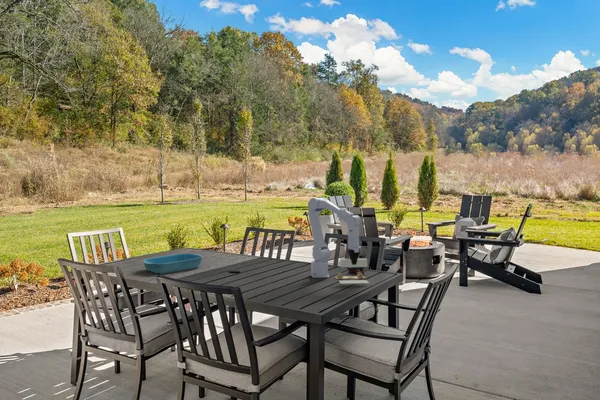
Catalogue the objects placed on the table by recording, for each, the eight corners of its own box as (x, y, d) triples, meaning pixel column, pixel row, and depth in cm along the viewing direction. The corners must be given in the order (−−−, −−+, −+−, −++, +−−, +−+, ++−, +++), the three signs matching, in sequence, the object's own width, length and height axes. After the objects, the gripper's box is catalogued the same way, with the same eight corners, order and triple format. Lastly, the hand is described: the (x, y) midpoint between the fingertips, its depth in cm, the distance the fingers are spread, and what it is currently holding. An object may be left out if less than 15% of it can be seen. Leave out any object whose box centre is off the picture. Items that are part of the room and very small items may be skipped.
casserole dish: (155, 276, 240) (155, 264, 240) (135, 271, 255) (135, 259, 255) (209, 267, 268) (209, 255, 268) (188, 262, 283) (188, 252, 283)
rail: (340, 267, 226) (340, 259, 226) (340, 266, 228) (340, 258, 228) (367, 266, 227) (367, 259, 227) (366, 265, 230) (366, 258, 229)
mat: (340, 284, 223) (340, 283, 223) (338, 281, 229) (338, 280, 229) (369, 283, 224) (369, 282, 224) (366, 280, 231) (366, 280, 231)
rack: (336, 279, 234) (336, 274, 234) (334, 277, 239) (334, 272, 238) (365, 279, 235) (365, 273, 235) (363, 277, 240) (363, 271, 240)
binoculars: (344, 257, 248) (352, 253, 256) (345, 275, 249) (353, 270, 257) (358, 258, 243) (366, 254, 251) (359, 276, 244) (367, 272, 252)
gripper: (364, 240, 220) (364, 266, 221) (358, 236, 235) (358, 261, 235) (350, 240, 220) (350, 266, 220) (345, 236, 234) (345, 261, 235)
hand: (353, 264), depth 228 cm, fingers closed on rail, 3 cm apart
